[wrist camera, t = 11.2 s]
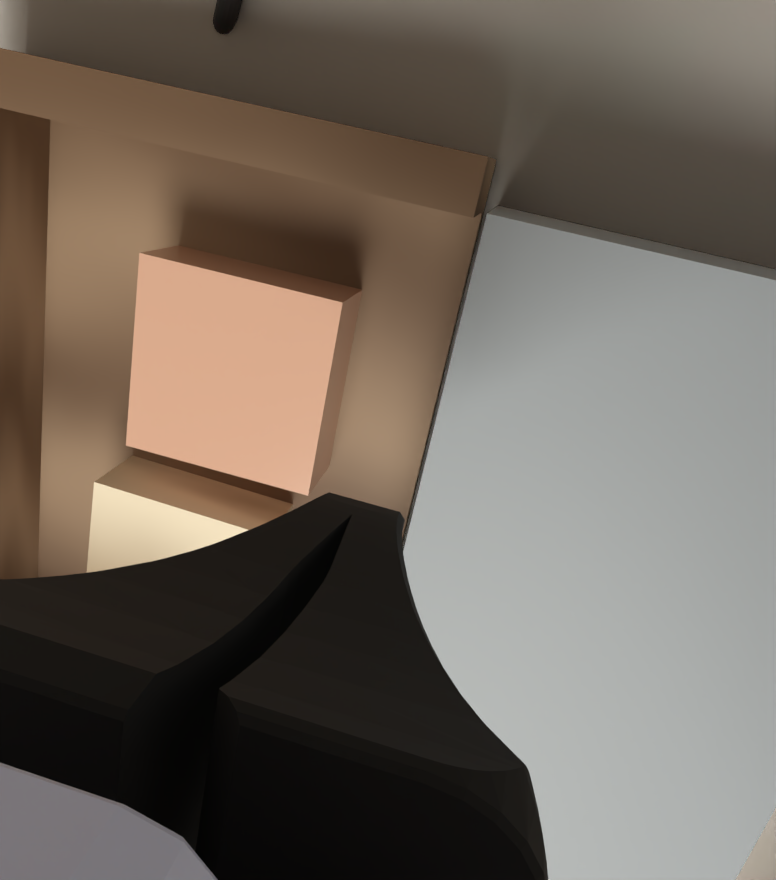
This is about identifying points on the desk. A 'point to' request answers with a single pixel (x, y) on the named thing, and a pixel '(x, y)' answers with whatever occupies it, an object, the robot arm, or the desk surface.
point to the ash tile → (167, 513)
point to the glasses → (226, 15)
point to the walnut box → (218, 232)
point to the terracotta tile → (238, 366)
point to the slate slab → (612, 541)
